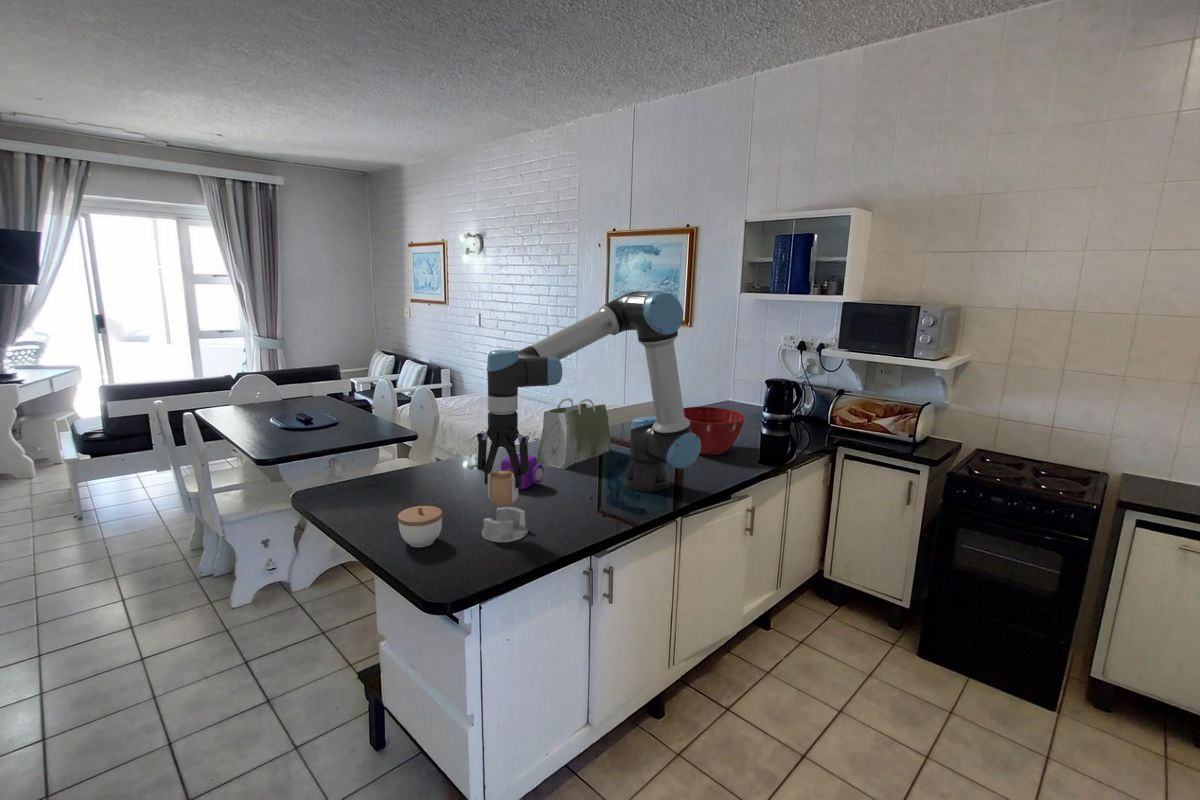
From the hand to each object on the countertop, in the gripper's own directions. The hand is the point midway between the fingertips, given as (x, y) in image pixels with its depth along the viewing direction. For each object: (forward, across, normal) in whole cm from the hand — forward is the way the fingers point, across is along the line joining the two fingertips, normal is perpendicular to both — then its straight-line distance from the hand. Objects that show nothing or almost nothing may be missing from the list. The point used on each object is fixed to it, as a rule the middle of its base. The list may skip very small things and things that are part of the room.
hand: (503, 497), depth 148 cm
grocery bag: (+10, +2, -73) cm, 74 cm away
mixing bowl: (+9, -47, -97) cm, 108 cm away
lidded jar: (+10, +18, +11) cm, 23 cm away
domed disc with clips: (+10, 0, 0) cm, 10 cm away
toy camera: (+10, +9, -36) cm, 39 cm away
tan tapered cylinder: (+1, 0, 0) cm, 1 cm away
